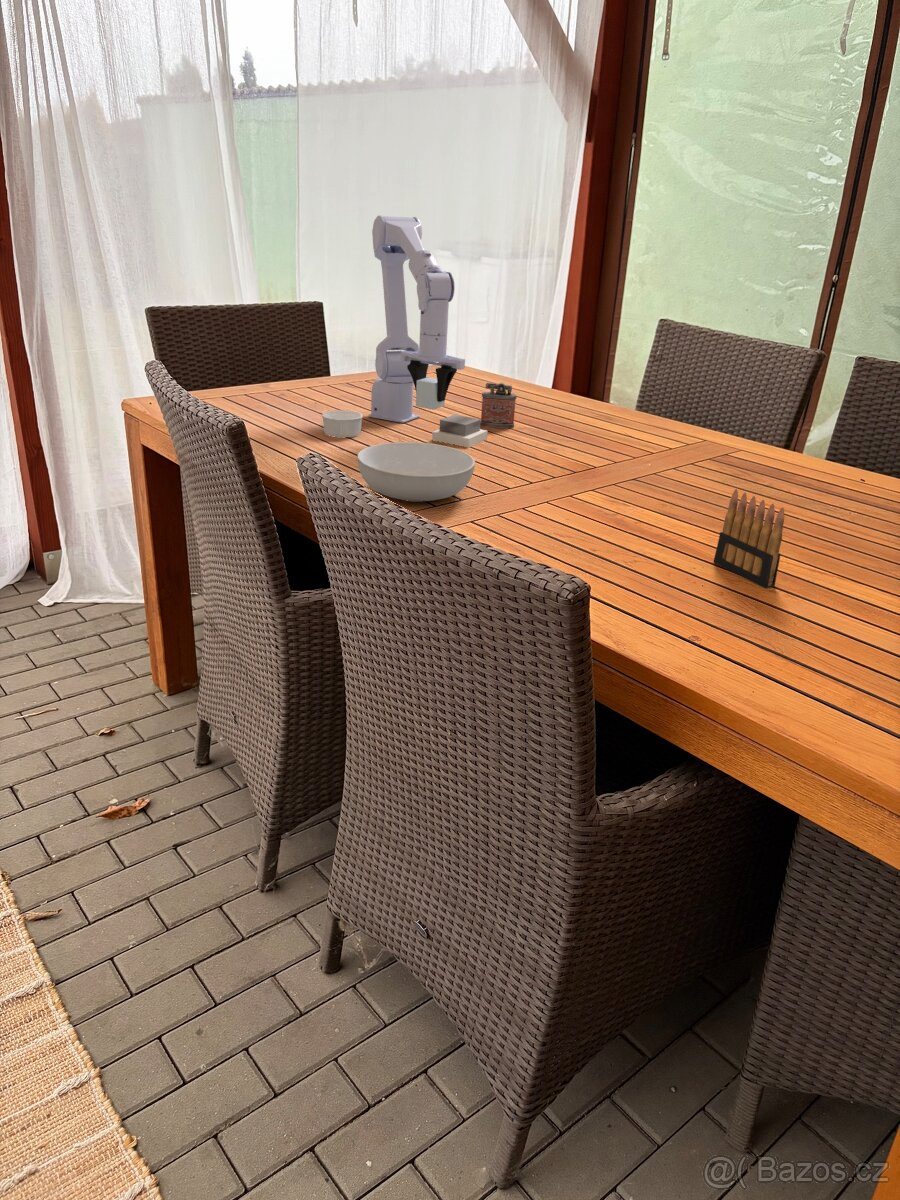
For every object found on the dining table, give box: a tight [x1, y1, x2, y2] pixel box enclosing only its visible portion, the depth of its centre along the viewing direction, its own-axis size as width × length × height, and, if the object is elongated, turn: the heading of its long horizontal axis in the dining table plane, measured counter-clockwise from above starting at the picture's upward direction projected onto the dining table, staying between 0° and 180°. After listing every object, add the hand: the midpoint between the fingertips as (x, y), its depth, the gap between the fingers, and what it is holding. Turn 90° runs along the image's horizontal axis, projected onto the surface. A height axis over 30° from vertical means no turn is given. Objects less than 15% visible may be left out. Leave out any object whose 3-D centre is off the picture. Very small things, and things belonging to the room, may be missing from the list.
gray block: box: [415, 376, 446, 410], centre depth 190 cm, size 4×4×6 cm
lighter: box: [480, 382, 518, 429], centre depth 207 cm, size 8×3×10 cm, turn 84°
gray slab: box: [438, 414, 481, 436], centre depth 195 cm, size 6×6×2 cm
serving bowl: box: [356, 441, 476, 503], centre depth 159 cm, size 21×21×7 cm
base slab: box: [431, 428, 488, 449], centre depth 196 cm, size 9×9×2 cm
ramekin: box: [321, 409, 363, 438], centre depth 195 cm, size 9×9×4 cm
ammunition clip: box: [713, 489, 785, 589], centre depth 131 cm, size 11×2×12 cm, turn 29°
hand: (430, 399), depth 191 cm, fingers closed on gray block, 4 cm apart
